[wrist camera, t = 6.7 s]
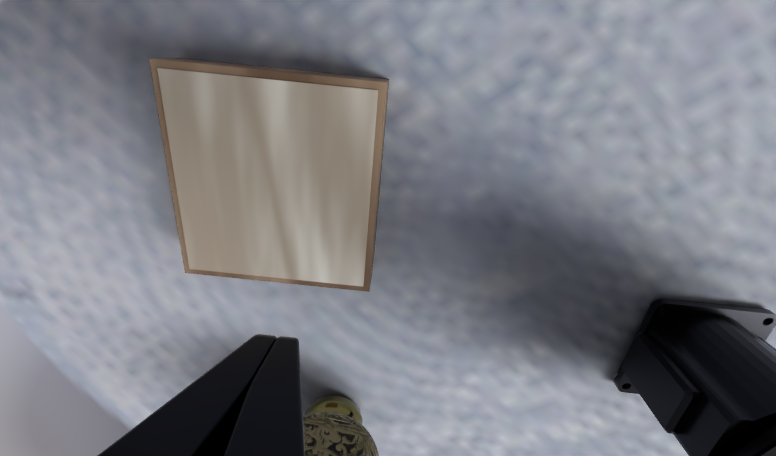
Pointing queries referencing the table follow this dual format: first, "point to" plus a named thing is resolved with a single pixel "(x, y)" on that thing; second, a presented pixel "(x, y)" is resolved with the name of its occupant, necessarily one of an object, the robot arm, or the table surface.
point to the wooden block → (273, 170)
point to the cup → (336, 429)
